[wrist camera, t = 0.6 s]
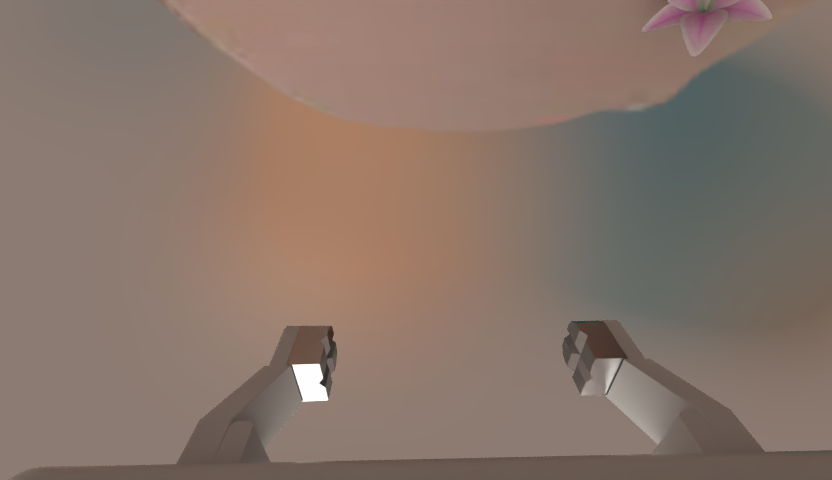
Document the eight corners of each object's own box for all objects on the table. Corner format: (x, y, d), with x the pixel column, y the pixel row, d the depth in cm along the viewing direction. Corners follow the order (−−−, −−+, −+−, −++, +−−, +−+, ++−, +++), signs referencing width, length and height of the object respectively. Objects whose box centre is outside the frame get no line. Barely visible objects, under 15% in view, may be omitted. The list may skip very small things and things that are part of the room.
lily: (781, -56, 38) (830, -99, 30) (737, 65, 42) (769, 57, 34) (652, -43, 42) (664, -78, 34) (625, 64, 47) (630, 56, 39)
